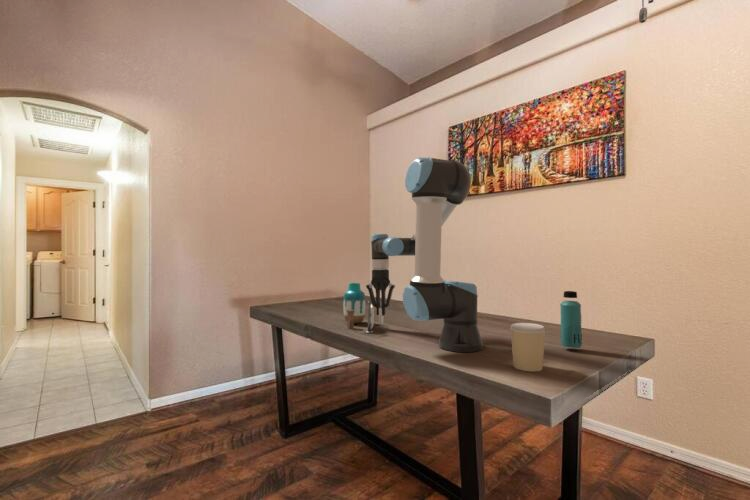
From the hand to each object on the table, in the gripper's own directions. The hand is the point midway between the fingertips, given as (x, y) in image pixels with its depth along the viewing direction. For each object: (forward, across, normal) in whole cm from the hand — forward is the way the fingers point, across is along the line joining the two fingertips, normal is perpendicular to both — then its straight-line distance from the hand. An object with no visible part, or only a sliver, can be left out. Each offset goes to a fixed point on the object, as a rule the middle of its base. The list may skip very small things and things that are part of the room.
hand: (381, 322), depth 159 cm
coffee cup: (+3, -55, +41) cm, 68 cm away
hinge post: (+3, +3, +8) cm, 9 cm away
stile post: (+3, +14, +2) cm, 14 cm away
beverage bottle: (+3, -71, +17) cm, 74 cm away
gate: (+2, +4, +1) cm, 5 cm away
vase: (+3, +16, -10) cm, 19 cm away
